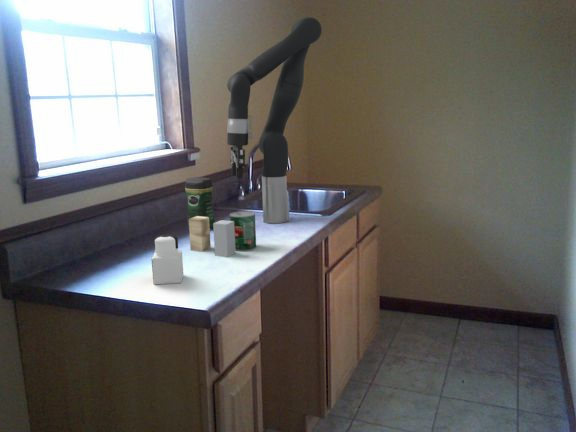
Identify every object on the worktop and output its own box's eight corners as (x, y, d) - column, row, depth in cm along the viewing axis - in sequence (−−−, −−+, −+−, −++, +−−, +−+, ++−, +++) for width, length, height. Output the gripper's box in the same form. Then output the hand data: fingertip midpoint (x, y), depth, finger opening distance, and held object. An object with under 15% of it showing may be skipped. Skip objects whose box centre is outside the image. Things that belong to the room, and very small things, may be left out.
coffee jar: (218, 227, 211) (216, 176, 207) (205, 231, 205) (202, 179, 201) (197, 224, 216) (194, 175, 212) (184, 229, 209) (180, 178, 205)
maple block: (199, 246, 186) (197, 216, 184) (210, 247, 184) (209, 217, 181) (190, 250, 182) (188, 219, 180) (202, 251, 180) (200, 220, 178)
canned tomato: (261, 246, 184) (259, 212, 182) (247, 252, 178) (246, 217, 175) (240, 243, 188) (238, 210, 186) (226, 249, 181) (224, 215, 179)
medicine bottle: (157, 276, 157) (153, 233, 154) (183, 274, 158) (180, 232, 155) (153, 284, 150) (149, 240, 147) (181, 283, 151) (178, 238, 148)
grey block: (223, 251, 179) (221, 220, 177) (235, 253, 177) (234, 221, 175) (214, 255, 175) (213, 223, 173) (227, 257, 173) (225, 224, 171)
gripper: (252, 133, 201) (251, 179, 204) (244, 130, 215) (243, 174, 218) (231, 132, 199) (230, 179, 202) (223, 130, 213) (223, 174, 216)
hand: (237, 176), depth 210 cm, fingers open, 8 cm apart
